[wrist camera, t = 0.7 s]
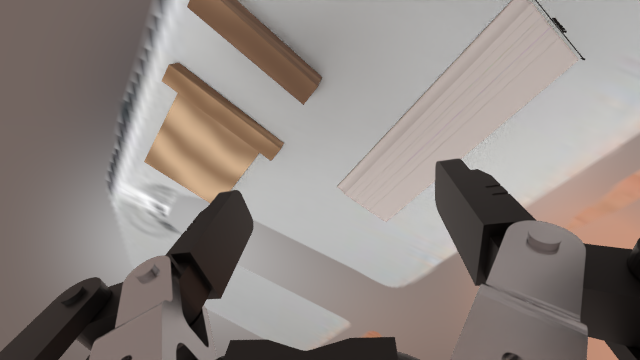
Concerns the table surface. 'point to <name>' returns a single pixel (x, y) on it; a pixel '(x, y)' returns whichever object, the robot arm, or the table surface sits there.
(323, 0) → the table surface
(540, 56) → the baseboard molding
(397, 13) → the table surface
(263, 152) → the floor edge
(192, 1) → the plank
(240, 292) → the table surface
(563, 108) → the table surface
